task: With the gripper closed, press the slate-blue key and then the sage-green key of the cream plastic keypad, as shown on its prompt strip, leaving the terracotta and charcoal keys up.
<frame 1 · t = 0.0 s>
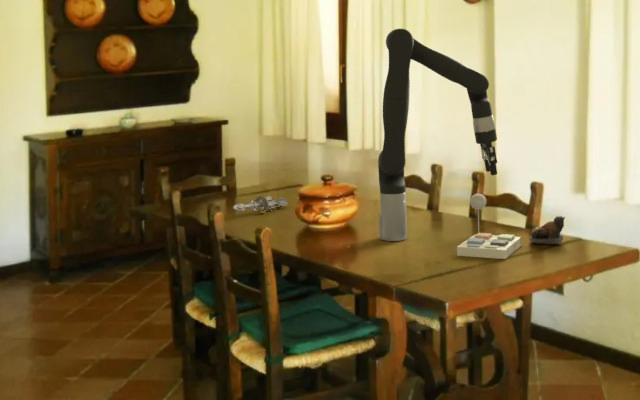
hand: (491, 173, 324), 22 cm above the table, fingers open, 8 cm apart
key sage: (505, 239, 306), point 3 cm above the table, slide at 0.0 cm
key slate: (475, 243, 303), point 3 cm above the table, slide at 0.0 cm
spaceship: (261, 214, 387), on the table
keypad: (491, 249, 305), on the table
brown cat figurine: (547, 244, 309), on the table
key terracotta: (483, 238, 310), point 3 cm above the table, slide at 0.0 cm
key charcoal: (499, 244, 299), point 3 cm above the table, slide at 0.0 cm
lollipop: (478, 234, 328), on the table
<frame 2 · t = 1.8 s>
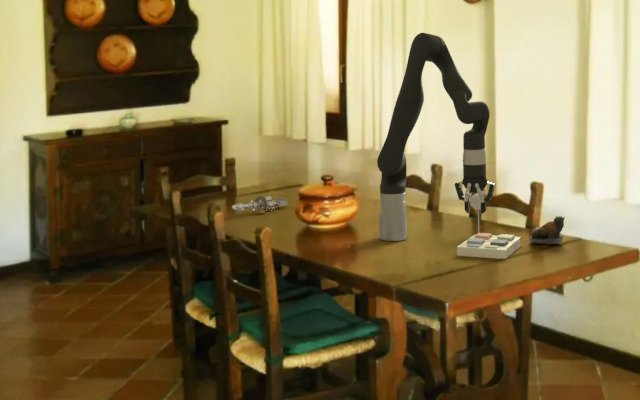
hand: (475, 212, 301), 13 cm above the table, fingers open, 4 cm apart
nothing on the table moved.
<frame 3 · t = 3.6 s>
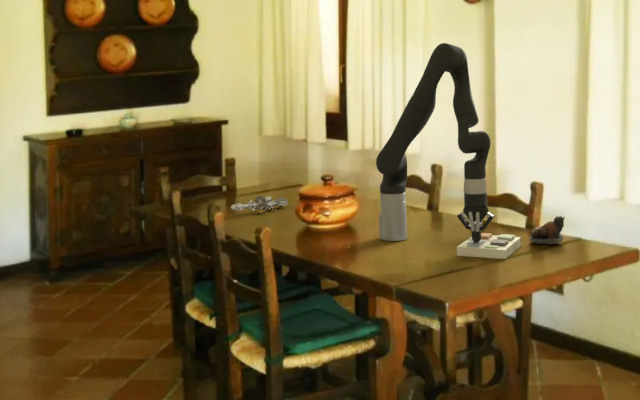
hand: (476, 241, 303), 3 cm above the table, fingers closed
key slate: (476, 245, 303), point 2 cm above the table, slide at 0.8 cm
everything else where it was.
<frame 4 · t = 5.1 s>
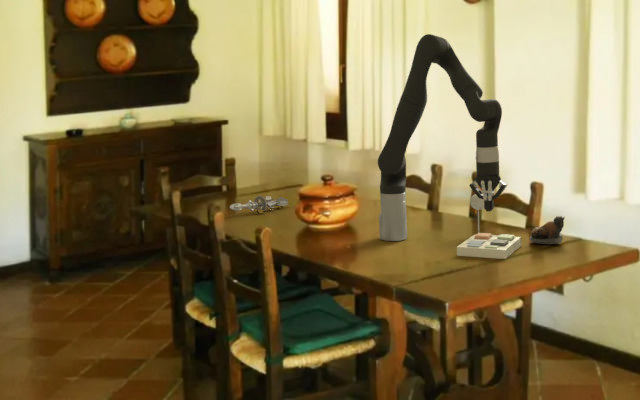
hand: (489, 211, 302), 13 cm above the table, fingers closed
nothing on the table moved.
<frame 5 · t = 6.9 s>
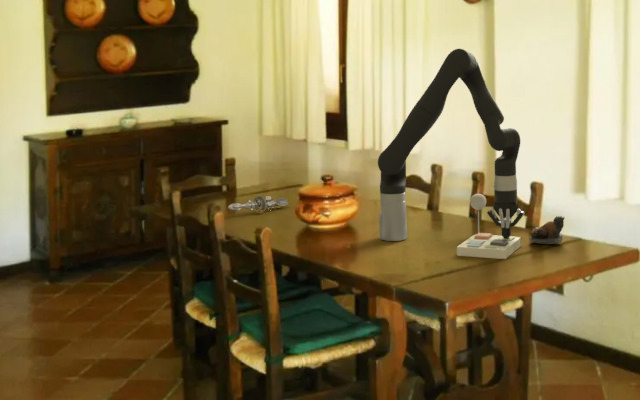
hand: (506, 238, 306), 3 cm above the table, fingers closed
key sage: (505, 241, 306), point 2 cm above the table, slide at 0.8 cm, touching gripper
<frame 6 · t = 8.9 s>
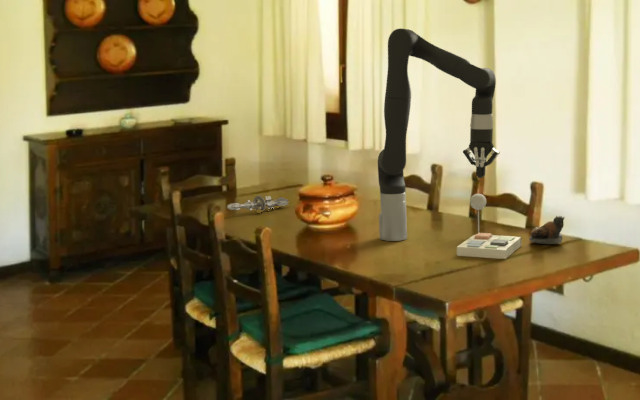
hand: (480, 177, 310), 23 cm above the table, fingers closed
key sage: (505, 241, 306), point 2 cm above the table, slide at 0.8 cm
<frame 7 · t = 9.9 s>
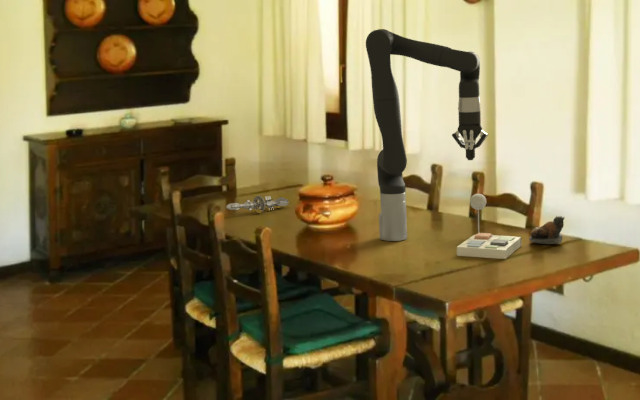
hand: (470, 159, 313), 29 cm above the table, fingers closed
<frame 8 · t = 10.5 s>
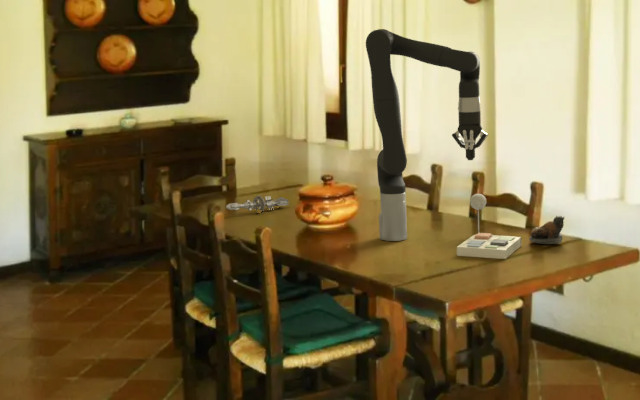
hand: (470, 159, 313), 29 cm above the table, fingers closed
at the end: key slate slide at 0.9 cm; key sage slide at 0.8 cm; key terracotta slide at 0.0 cm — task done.
